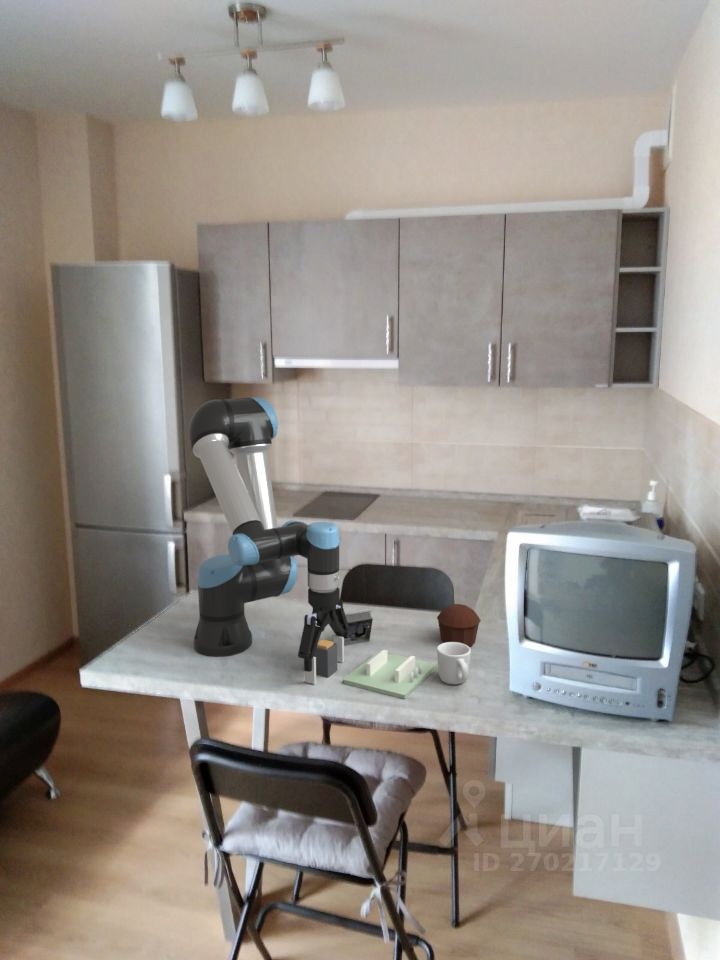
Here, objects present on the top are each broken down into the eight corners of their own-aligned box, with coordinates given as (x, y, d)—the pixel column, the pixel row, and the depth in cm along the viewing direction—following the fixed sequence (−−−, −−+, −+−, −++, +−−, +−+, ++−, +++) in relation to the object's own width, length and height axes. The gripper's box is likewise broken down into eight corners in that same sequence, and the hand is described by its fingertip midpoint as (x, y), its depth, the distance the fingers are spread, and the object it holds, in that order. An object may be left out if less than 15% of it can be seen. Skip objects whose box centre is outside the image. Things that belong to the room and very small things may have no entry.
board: (343, 683, 177) (343, 667, 176) (378, 654, 192) (378, 640, 191) (404, 699, 169) (405, 682, 168) (436, 667, 185) (436, 652, 184)
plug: (311, 673, 182) (311, 644, 180) (321, 666, 186) (321, 637, 184) (327, 678, 180) (327, 648, 178) (337, 670, 183) (337, 641, 182)
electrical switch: (366, 635, 204) (367, 604, 201) (374, 644, 199) (375, 613, 197) (334, 641, 200) (335, 610, 198) (341, 651, 196) (342, 618, 193)
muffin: (428, 638, 202) (429, 603, 200) (462, 630, 207) (463, 596, 205) (453, 654, 192) (454, 618, 190) (488, 646, 197) (489, 610, 195)
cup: (480, 690, 173) (481, 658, 171) (448, 695, 171) (449, 662, 169) (461, 670, 183) (462, 639, 182) (431, 674, 181) (431, 643, 179)
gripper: (309, 606, 166) (310, 696, 170) (362, 575, 187) (362, 655, 191) (281, 601, 169) (283, 688, 174) (336, 570, 191) (337, 649, 195)
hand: (324, 671), depth 182 cm, fingers open, 12 cm apart
